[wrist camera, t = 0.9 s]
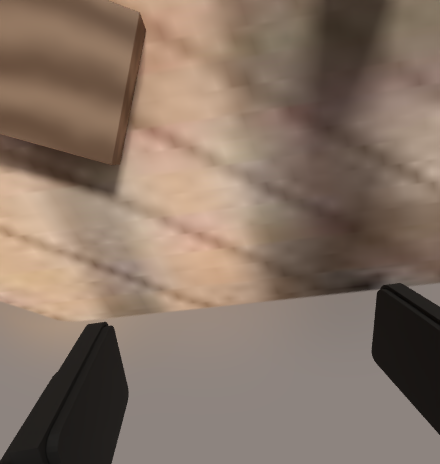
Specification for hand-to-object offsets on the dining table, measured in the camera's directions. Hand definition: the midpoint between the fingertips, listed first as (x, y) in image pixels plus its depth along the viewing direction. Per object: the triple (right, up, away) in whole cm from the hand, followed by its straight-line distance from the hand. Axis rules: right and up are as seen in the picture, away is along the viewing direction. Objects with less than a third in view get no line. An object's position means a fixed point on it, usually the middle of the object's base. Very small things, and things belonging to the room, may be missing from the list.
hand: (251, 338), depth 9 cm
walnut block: (-20, +22, +23) cm, 37 cm away
